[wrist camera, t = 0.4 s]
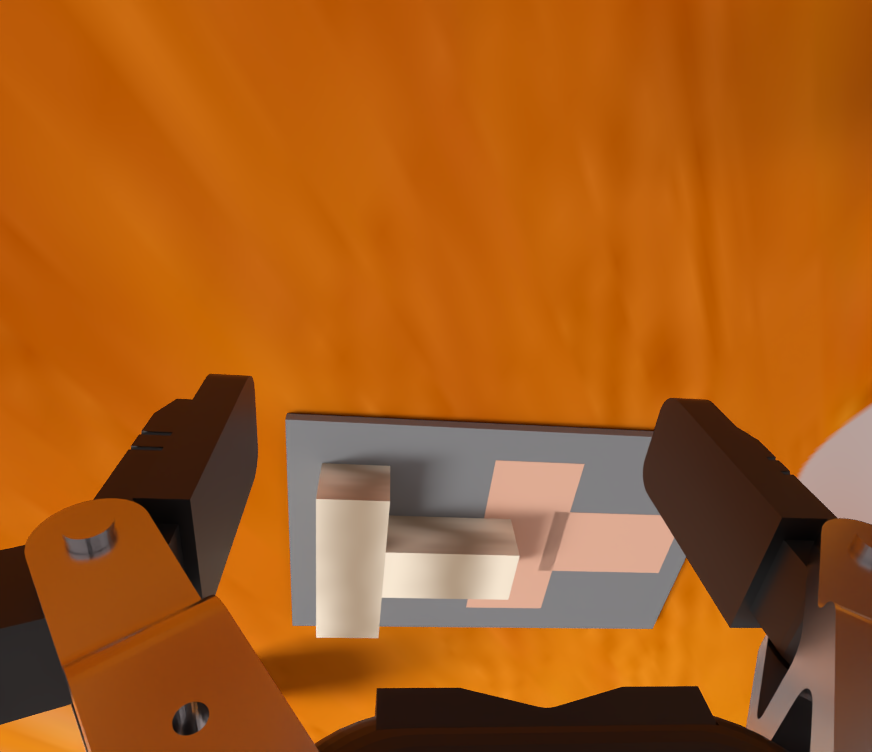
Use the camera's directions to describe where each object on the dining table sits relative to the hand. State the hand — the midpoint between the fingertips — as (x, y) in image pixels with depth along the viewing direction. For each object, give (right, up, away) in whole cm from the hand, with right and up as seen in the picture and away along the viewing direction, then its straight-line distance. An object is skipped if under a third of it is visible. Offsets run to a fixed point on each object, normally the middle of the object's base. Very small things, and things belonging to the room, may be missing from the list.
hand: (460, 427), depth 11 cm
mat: (+4, -10, +27) cm, 29 cm away
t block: (-2, -10, +26) cm, 28 cm away
